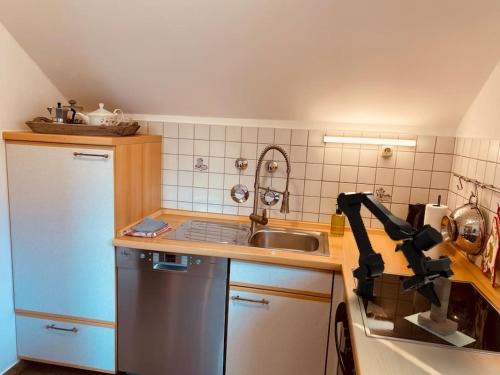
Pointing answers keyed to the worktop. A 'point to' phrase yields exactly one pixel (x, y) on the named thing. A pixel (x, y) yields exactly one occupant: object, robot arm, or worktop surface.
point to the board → (453, 338)
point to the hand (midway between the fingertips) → (443, 305)
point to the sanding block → (439, 310)
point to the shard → (375, 309)
